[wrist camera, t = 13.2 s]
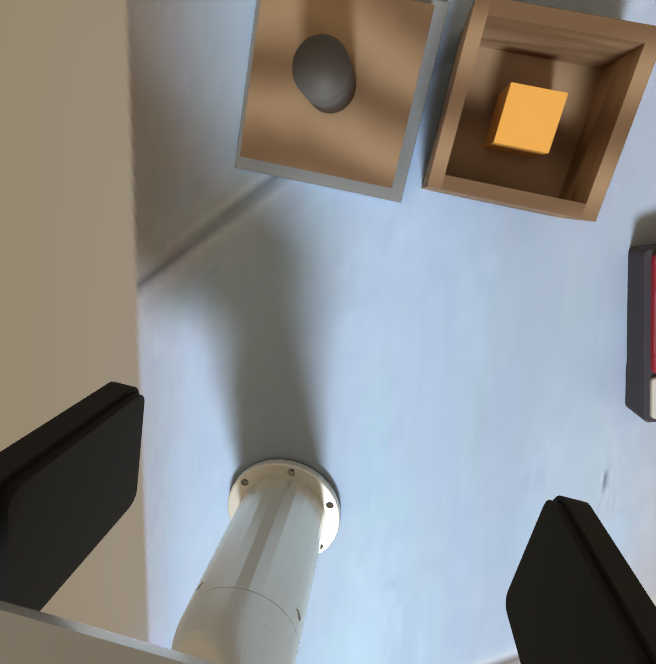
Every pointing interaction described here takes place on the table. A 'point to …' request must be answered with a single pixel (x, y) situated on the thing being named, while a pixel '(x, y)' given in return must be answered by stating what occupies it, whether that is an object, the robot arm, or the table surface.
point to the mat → (409, 137)
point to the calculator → (641, 332)
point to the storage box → (549, 73)
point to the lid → (334, 85)
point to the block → (525, 120)
